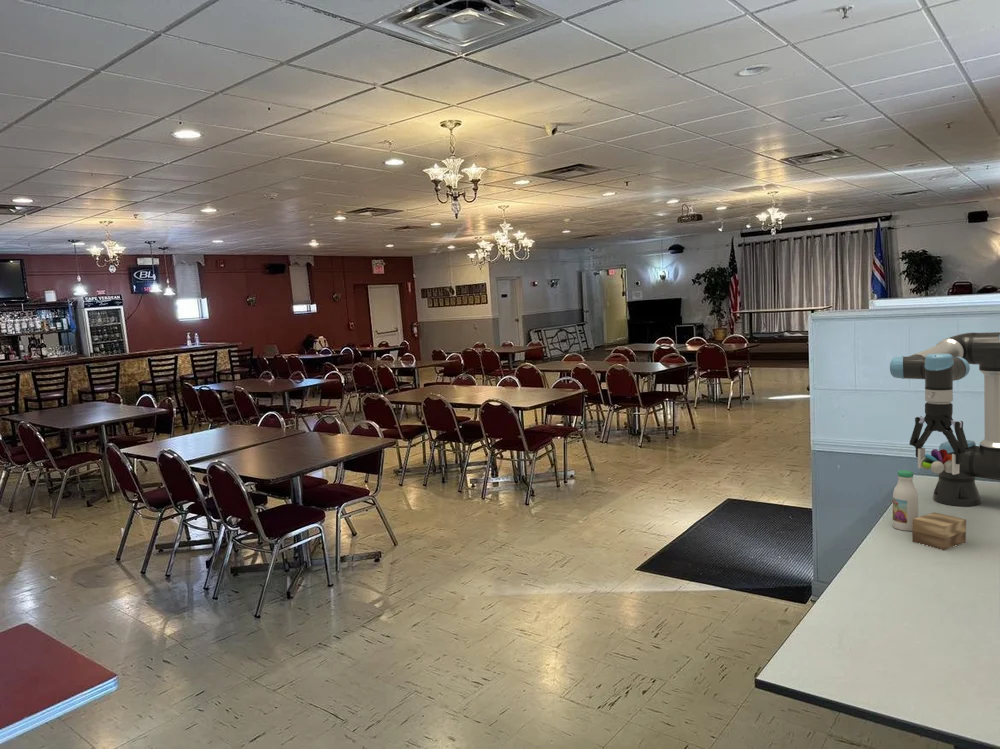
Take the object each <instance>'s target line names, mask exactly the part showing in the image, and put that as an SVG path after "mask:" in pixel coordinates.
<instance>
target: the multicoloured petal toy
mask: <svg viewBox="0 0 1000 749" xmlns="http://www.w3.org/2000/svg"><path fill="white" fill-rule="evenodd" d="M920 466H921V467H922V468H921V469H923V470H925V471H928V470H931V472H932V473H934V474H938V475H939V473H941V472H943V470H945V471H946V472H947V473H952V455H948V453H947V451H946V450H945V449H942V450H940V451H939V449H937V448H935V449H932V450H931V451H930V454H929V453H925V458H923V459H922V460H921V461H920Z"/></svg>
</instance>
